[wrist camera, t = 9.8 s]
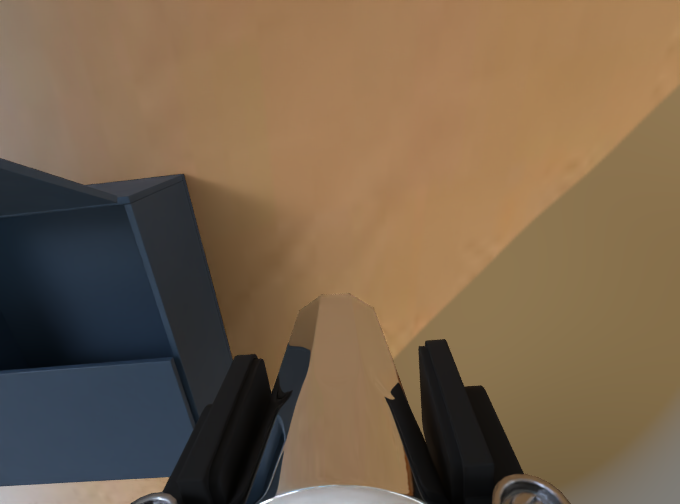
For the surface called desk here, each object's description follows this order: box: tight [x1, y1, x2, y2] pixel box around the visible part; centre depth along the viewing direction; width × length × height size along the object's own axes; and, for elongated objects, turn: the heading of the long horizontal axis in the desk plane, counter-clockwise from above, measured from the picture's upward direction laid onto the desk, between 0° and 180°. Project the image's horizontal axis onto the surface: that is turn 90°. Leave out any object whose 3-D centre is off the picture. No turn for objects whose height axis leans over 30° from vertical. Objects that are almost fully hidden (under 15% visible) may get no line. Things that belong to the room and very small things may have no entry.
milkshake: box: [229, 293, 451, 504], centre depth 9 cm, size 5×5×10 cm
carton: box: [0, 174, 233, 486], centre depth 20 cm, size 14×15×6 cm
